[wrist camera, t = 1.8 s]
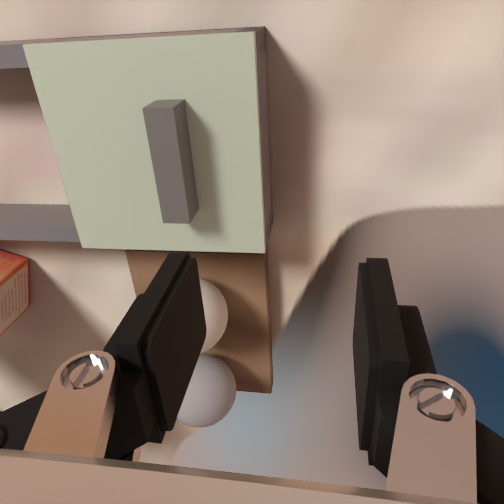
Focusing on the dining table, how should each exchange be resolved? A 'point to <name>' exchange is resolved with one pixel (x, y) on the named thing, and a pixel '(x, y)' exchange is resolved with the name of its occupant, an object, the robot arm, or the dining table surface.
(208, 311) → the cream matte ball
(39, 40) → the bin
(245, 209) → the lid
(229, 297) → the board
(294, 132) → the dining table surface
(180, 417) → the grey matte ball
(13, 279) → the cracker box
